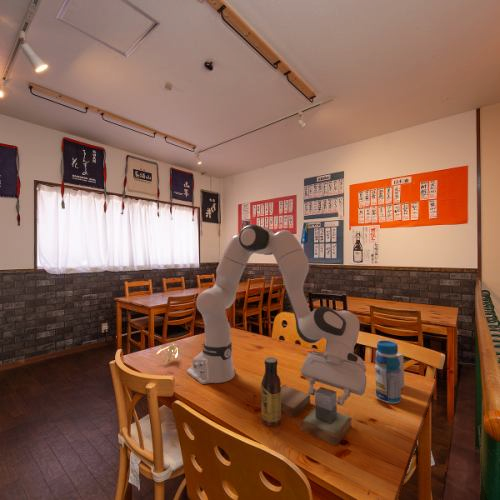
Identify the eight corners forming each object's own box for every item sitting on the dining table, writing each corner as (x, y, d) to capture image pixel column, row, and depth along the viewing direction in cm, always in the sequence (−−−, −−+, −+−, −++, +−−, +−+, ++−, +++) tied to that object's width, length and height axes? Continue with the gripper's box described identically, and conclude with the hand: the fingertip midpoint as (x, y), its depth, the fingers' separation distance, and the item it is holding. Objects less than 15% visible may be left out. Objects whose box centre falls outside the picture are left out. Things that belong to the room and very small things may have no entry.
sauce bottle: (260, 416, 90) (259, 355, 90) (279, 415, 91) (278, 354, 91) (263, 428, 84) (262, 363, 84) (283, 427, 84) (282, 362, 84)
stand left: (266, 405, 96) (266, 397, 96) (284, 393, 105) (284, 385, 105) (294, 417, 89) (293, 408, 89) (310, 403, 98) (310, 394, 98)
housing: (315, 418, 84) (315, 391, 84) (321, 412, 87) (321, 386, 87) (331, 424, 81) (330, 397, 81) (336, 418, 84) (336, 391, 84)
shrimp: (154, 371, 132) (149, 356, 129) (168, 349, 146) (164, 335, 143) (175, 373, 130) (172, 357, 127) (188, 350, 144) (185, 336, 140)
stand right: (301, 429, 83) (301, 419, 83) (318, 413, 91) (317, 404, 91) (336, 446, 76) (336, 435, 76) (351, 426, 84) (351, 416, 84)
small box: (404, 387, 107) (404, 354, 108) (393, 391, 105) (393, 357, 105) (386, 379, 115) (385, 348, 115) (375, 382, 112) (375, 350, 112)
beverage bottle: (400, 407, 94) (399, 348, 94) (373, 400, 99) (372, 344, 99) (402, 396, 101) (401, 341, 101) (377, 390, 106) (376, 338, 106)
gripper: (305, 345, 96) (291, 384, 88) (366, 359, 83) (355, 406, 75) (312, 354, 99) (298, 392, 92) (371, 369, 86) (361, 415, 78)
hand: (325, 399), depth 83 cm, fingers open, 8 cm apart
